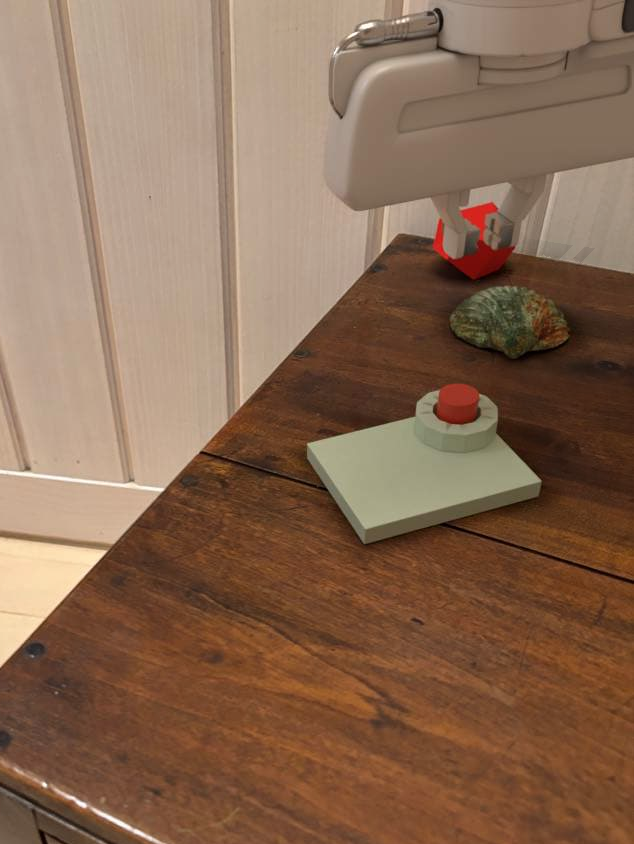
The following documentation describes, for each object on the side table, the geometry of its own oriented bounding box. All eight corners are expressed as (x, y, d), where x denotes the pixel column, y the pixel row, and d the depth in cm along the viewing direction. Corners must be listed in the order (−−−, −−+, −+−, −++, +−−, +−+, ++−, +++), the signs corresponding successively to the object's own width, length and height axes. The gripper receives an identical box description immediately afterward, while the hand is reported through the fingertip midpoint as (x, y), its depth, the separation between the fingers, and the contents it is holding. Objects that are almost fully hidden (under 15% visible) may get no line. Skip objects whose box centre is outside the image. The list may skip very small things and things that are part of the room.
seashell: (574, 259, 79) (577, 318, 72) (568, 303, 82) (571, 363, 74) (453, 261, 81) (445, 318, 74) (452, 303, 84) (444, 362, 77)
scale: (467, 415, 70) (472, 381, 68) (543, 495, 63) (551, 460, 61) (304, 455, 68) (304, 422, 66) (364, 545, 60) (366, 510, 58)
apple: (509, 192, 87) (442, 175, 84) (543, 233, 83) (473, 218, 80) (471, 254, 92) (406, 241, 88) (500, 296, 88) (433, 284, 84)
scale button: (464, 400, 67) (467, 379, 66) (483, 420, 65) (487, 400, 64) (429, 408, 67) (431, 388, 65) (448, 429, 65) (450, 409, 63)
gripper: (356, 42, 44) (346, 305, 53) (717, -15, 48) (649, 239, 57) (306, 12, 48) (305, 260, 58) (640, -37, 52) (589, 201, 62)
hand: (479, 249), depth 58 cm, fingers closed
